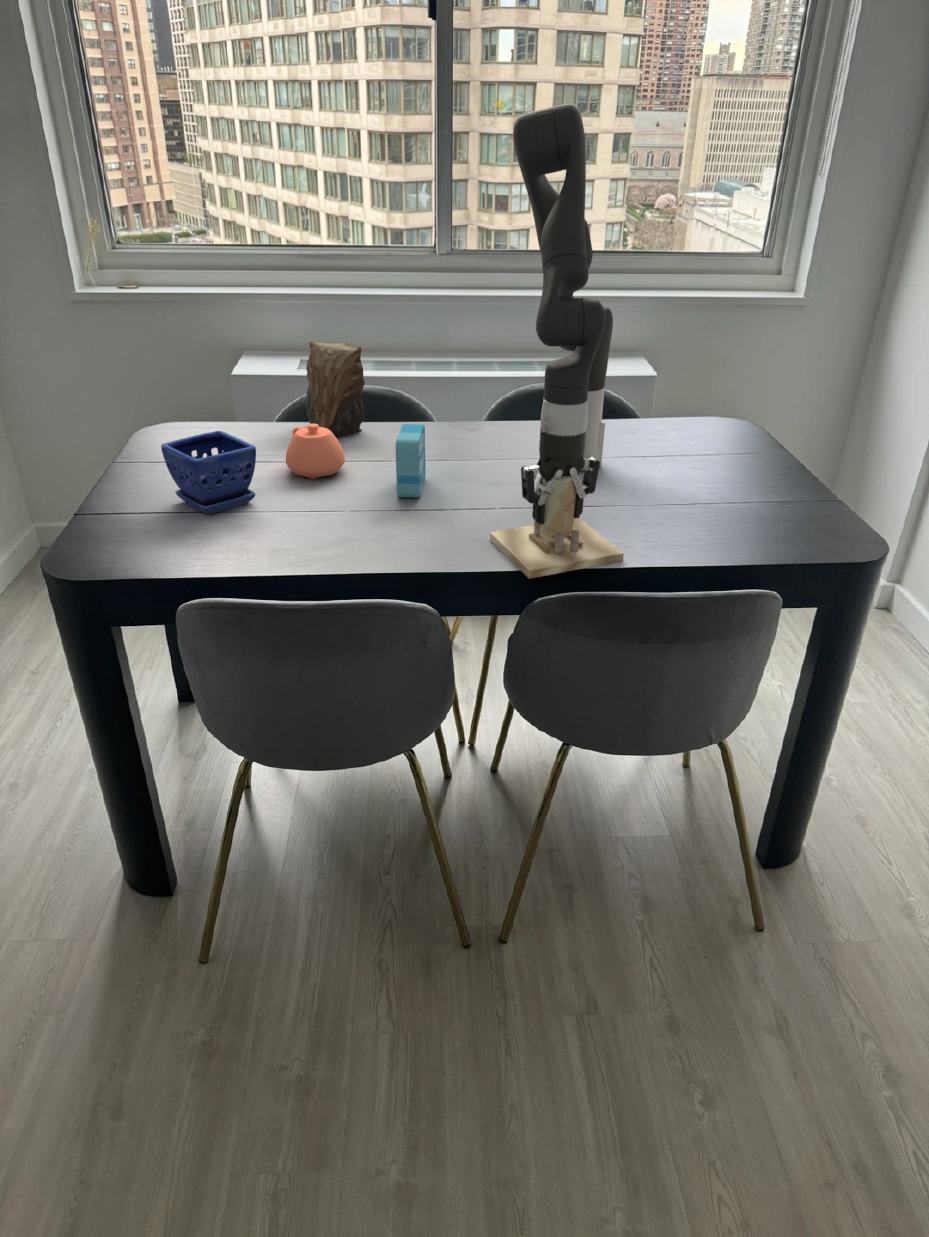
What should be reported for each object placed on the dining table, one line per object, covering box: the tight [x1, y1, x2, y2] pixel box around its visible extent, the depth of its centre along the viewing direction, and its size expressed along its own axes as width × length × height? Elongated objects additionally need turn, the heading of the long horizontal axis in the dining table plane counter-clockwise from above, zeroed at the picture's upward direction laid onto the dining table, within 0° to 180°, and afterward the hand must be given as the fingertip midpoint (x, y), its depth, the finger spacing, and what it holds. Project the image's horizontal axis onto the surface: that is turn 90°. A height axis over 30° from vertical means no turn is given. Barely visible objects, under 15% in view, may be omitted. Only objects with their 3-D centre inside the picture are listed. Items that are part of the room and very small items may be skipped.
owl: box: [304, 340, 366, 439], centre depth 204 cm, size 13×13×20 cm
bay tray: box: [489, 518, 625, 580], centre depth 153 cm, size 18×16×5 cm
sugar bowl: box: [285, 423, 346, 480], centre depth 184 cm, size 12×14×10 cm
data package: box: [395, 423, 426, 499], centre depth 175 cm, size 12×4×12 cm, turn 176°
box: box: [540, 476, 576, 540], centre depth 150 cm, size 5×4×11 cm
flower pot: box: [160, 430, 257, 515], centre depth 168 cm, size 13×13×12 cm
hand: (557, 519), depth 152 cm, fingers closed on box, 6 cm apart
